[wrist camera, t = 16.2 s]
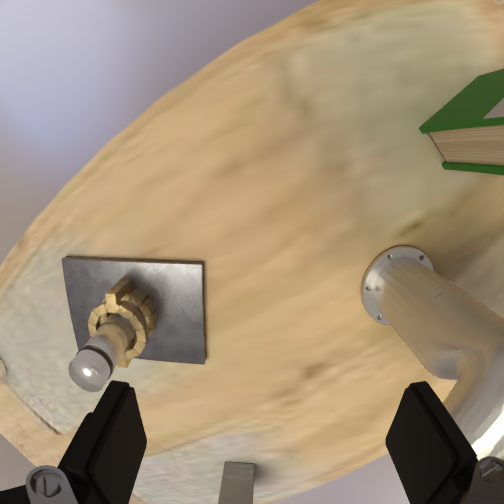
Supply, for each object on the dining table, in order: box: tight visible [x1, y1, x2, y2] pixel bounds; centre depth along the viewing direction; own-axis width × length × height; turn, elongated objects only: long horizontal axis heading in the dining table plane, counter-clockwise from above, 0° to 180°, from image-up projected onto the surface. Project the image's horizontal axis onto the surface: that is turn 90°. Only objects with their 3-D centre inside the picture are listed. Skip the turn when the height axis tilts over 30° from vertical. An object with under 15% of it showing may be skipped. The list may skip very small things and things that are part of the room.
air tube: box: [69, 301, 145, 392], centre depth 37 cm, size 5×5×16 cm
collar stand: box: [62, 256, 206, 368], centre depth 42 cm, size 22×16×8 cm
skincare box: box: [218, 462, 255, 504], centre depth 49 cm, size 8×7×16 cm
